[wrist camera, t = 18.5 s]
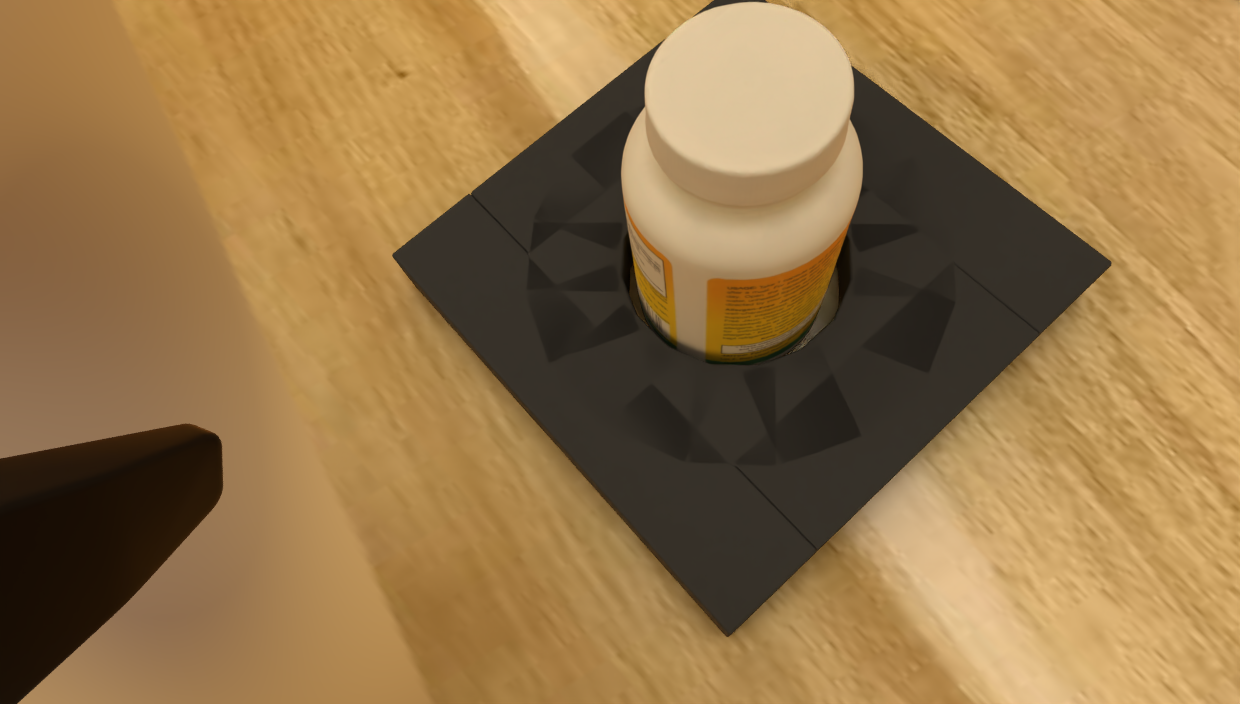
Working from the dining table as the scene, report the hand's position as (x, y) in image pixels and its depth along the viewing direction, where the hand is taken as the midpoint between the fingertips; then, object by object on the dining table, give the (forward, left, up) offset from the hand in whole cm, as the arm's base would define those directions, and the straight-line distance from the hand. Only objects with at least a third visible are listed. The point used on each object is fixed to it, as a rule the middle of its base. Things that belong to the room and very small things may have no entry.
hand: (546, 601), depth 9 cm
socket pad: (+9, +5, -13) cm, 17 cm away
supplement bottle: (+9, +5, -13) cm, 17 cm away
